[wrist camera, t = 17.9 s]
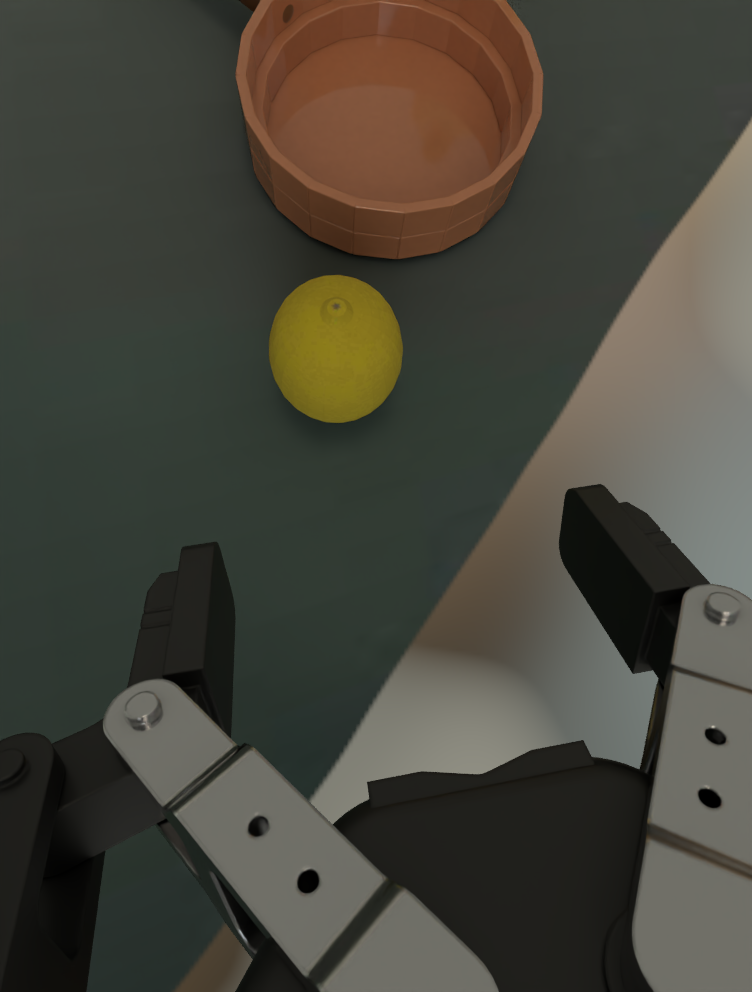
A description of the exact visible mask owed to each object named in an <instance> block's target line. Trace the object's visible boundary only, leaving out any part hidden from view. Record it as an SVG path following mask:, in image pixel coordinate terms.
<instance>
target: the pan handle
mask: <svg viewBox="0 0 752 992" xmlns="http://www.w3.org/2000/svg"><path fill="white" fill-rule="evenodd" d="M239 1H240V2H241V3H243V4H244V5H245V6H246V7H248V8H249V9H250V10H251V11H253V12H254V11H255V10H256V8H257V6H258V4H259V3H260V1H261V0H239ZM293 12H294V8H293V5H291V4H290V5H288V6H287V7H286V8H285V10H284V12H283V22H284V23H287V22H289V21H290V19H291V18H292V16H293Z"/></svg>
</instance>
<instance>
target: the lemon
mask: <svg viewBox="0 0 752 992" xmlns="http://www.w3.org/2000/svg"><path fill="white" fill-rule="evenodd" d="M402 353H403V345H402V340H401V334H400V328H399V324H398V322H397V320H396V317H395V315H394V313H393V311H392V309H391V307H390V305H389V304H388V303H387V302H386V300H385V299H384V298H383V297H382V295H381V294H380V293H379V292H378V291H376V290H375V289H374V288H372V287H371V286H370V285H368V284H367V283H365V282H362V281H360V280H358V279H356V278H352V277H347V276H342V275H329V276H322V277H318V278H315V279H311V280H309V281H307V282H306V283H304V284H302V285H300V286H298V287H297V288H296V289H295V290H294V291H293V292H292V293H291V294H290V295H289V296H288V297H287V298H286V299H285V300H284V302H283V304H282V305H281V307H280V309H279V310H278V312H277V314H276V316H275V319H274V322H273V326H272V329H271V332H270V337H269V360H270V364H271V368H272V372H273V376H274V379H275V381H276V383H277V384H278V386H279V388H280V390H281V391H282V393H283V395H284V396H285V398H286V399H287V400H288V401H289V402H290V403H291V404H292V405H293V406H294V407H295V408H296V409H298V410H299V411H301V412H303V413H304V414H306V415H308V416H309V417H311V418H314V419H317V420H320V421H324V422H332V423H343V422H348V421H354V420H357V419H359V418H361V417H363V416H365V415H368V414H370V413H371V412H372V411H373V410H375V409H376V408H377V407H378V406H380V405H381V404H382V403H383V402H384V400H385V399H386V398H387V396H388V395H389V394H390V392H391V391H392V389H393V388H394V385H395V383H396V380H397V378H398V375H399V373H400V370H401V362H402Z"/></svg>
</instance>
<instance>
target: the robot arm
mask: <svg viewBox="0 0 752 992" xmlns="http://www.w3.org/2000/svg"><path fill="white" fill-rule="evenodd" d="M559 550H560V555H561V559H562V562H563V564H564V566H565V568H566V569H567V571H568V573H569V574H570V575H571V577H572V579H573V580H574V582H575V584H576V585H577V587H578V588H579V590H580V591H581V593H582V594H583V596H584V598H585V599H586V601H587V602H588V604H589V606H590V607H591V609H592V610H593V612H594V613H595V615H596V616H597V618H598V620H599V621H600V623H601V624H602V626H603V628H604V629H605V631H606V632H607V634H608V635H609V637H610V639H611V640H612V642H613V643H614V645H615V646H616V648H617V650H618V651H619V653H620V654H621V656H622V657H623V659H624V660H625V662H626V664H627V665H628V667H629V668H630V670H631V672H632V673H633V674H635V673H641V672H646V671H651V670H653V671H654V672H655V674H656V675H657V677H658V678H659V679H658V682H657V685H656V689H655V694H654V699H653V705H652V710H651V715H650V720H649V725H648V731H647V736H646V741H645V746H644V751H643V757H642V761H641V765H640V769H637V768H634V767H632V766H629V765H627V764H624V763H620V762H617V761H613V760H608V759H603V758H595V757H591V755H590V753H589V751H588V749H587V747H586V745H585V743H584V741H583V740H581V741H576V742H571V743H566V744H561V745H556V746H550V747H545V748H540V749H535V750H531V751H529V752H527V753H525V754H523V755H521V756H519V757H517V758H515V759H513V760H511V761H509V762H507V763H505V764H503V765H500V766H498V767H496V768H494V769H492V770H490V771H488V772H486V773H483V774H457V773H440V772H416V773H411V774H406V775H401V776H396V777H391V778H385V779H380V780H375V781H370V782H367V784H368V792H369V800H367V801H365V802H363V803H361V804H359V805H357V806H356V807H354V808H353V809H351V810H350V811H348V812H347V813H345V814H344V815H343V816H342V817H341V818H339V819H338V820H337V821H336V822H335V823H334V824H333V825H332V824H331V823H330V822H329V821H328V820H327V819H326V818H325V817H324V816H323V815H322V814H321V813H320V812H319V811H318V810H317V809H316V808H315V807H314V806H313V805H312V804H311V803H310V802H309V801H308V800H307V799H306V798H305V797H304V796H303V795H302V794H301V793H300V792H299V791H298V790H297V789H296V788H295V787H294V786H293V785H292V784H291V783H290V782H289V781H288V780H287V779H286V778H284V777H283V776H282V775H281V774H280V773H279V772H278V771H277V770H276V769H275V768H274V767H273V766H272V765H271V764H270V763H269V762H268V761H267V760H266V759H265V758H264V757H263V756H262V755H261V754H260V753H259V752H258V751H257V750H256V749H255V748H253V747H252V746H251V745H249V744H247V743H244V744H243V745H242V746H238V745H237V744H236V743H234V742H233V741H232V740H231V726H232V699H233V671H234V644H235V607H234V600H233V594H232V590H231V587H230V583H229V579H228V576H227V572H226V569H225V565H224V561H223V558H222V554H221V550H220V547H219V545H218V543H217V542H211V543H204V544H198V545H191V546H185V547H182V549H181V555H180V561H179V567H178V571H174V572H167V573H161V574H160V575H159V577H158V578H157V579H156V581H155V582H154V583H153V585H152V586H151V587H150V589H149V590H148V592H147V596H146V601H145V606H144V614H143V615H142V620H141V625H140V626H141V629H140V630H139V635H138V639H137V644H136V649H135V654H134V658H133V663H132V668H131V673H130V677H129V682H128V686H127V689H125V690H124V691H123V692H121V693H120V694H119V695H118V696H117V697H116V698H115V699H114V700H113V701H112V702H111V704H110V705H109V707H108V708H107V710H106V713H105V715H104V718H103V719H102V720H100V721H99V722H97V723H96V724H94V725H92V726H90V727H88V728H86V729H84V730H82V731H79V732H77V733H75V734H73V735H71V736H68V737H66V738H64V739H62V740H59V741H57V742H55V743H53V744H51V742H50V741H49V739H47V738H46V737H45V736H43V735H41V734H37V733H22V734H17V735H13V736H10V737H8V738H6V739H3V740H1V741H0V992H86V990H87V982H88V975H89V967H90V960H91V953H92V945H93V938H94V930H95V923H96V915H97V908H98V901H99V893H100V886H101V878H102V871H103V863H104V856H105V850H107V849H109V848H111V847H113V846H115V845H117V844H119V843H120V842H122V841H124V840H126V839H128V838H130V837H132V836H134V835H136V834H138V833H140V832H141V831H143V830H145V829H147V828H149V827H151V826H153V825H155V826H156V828H157V829H158V830H159V832H160V833H161V834H162V835H163V837H164V838H165V839H166V841H167V842H168V843H169V845H170V846H171V847H172V849H173V850H174V851H175V853H176V854H177V855H178V856H179V858H180V859H181V860H182V862H183V863H184V864H185V866H186V867H187V868H188V870H189V871H190V872H191V874H192V875H193V876H194V877H195V879H196V880H197V881H198V883H199V884H200V885H201V887H202V888H203V889H204V891H205V892H206V894H207V895H208V897H209V898H210V900H211V901H212V903H213V904H214V906H215V907H216V909H217V911H218V912H219V914H220V915H221V917H222V918H223V920H224V921H225V923H226V924H227V925H228V927H229V928H230V930H231V931H232V932H233V934H234V935H235V936H236V938H237V939H238V940H239V942H240V943H241V944H242V946H243V947H244V948H245V950H246V951H247V952H248V954H249V955H250V956H251V958H252V959H253V961H252V962H251V964H250V966H249V968H248V970H247V971H246V973H245V975H244V977H243V979H242V981H241V982H240V984H239V986H238V988H237V990H236V991H235V992H752V600H751V599H750V598H749V597H747V596H746V595H744V594H742V593H741V592H739V591H737V590H734V589H732V588H728V587H725V586H721V585H714V584H710V583H709V582H708V581H707V579H706V578H705V577H704V576H703V575H702V574H701V573H700V572H699V570H698V569H697V568H696V567H695V566H694V565H693V564H692V563H691V562H690V560H689V559H688V558H687V557H686V556H685V555H684V554H683V553H682V552H681V551H680V549H679V548H678V547H677V546H676V545H675V544H674V543H671V539H670V538H669V537H668V536H667V535H666V534H665V533H664V532H663V531H661V530H660V527H659V526H658V525H657V524H656V523H655V522H654V521H653V520H652V519H651V517H649V515H648V514H647V513H645V512H644V511H642V510H640V509H638V508H637V507H635V506H633V505H631V504H630V503H628V502H623V503H618V501H617V500H616V499H615V498H614V496H613V495H612V494H611V493H610V492H609V491H608V489H607V488H606V487H605V486H603V485H601V484H598V485H591V486H585V487H578V488H572V489H568V490H567V492H566V494H565V499H564V507H563V515H562V523H561V531H560V537H559Z"/></svg>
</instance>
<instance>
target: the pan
mask: <svg viewBox="0 0 752 992" xmlns="http://www.w3.org/2000/svg"><path fill="white" fill-rule="evenodd" d="M290 4H291V5H293V8H294V12H293V16H292V18H291V19H290V21H289V22H287V23H284V22H283V12H284V10H285V8H286V7H287V6H288V5H290ZM235 75H236V82H237V88H238V93H239V99H240V104H241V109H242V115H243V120H244V126H245V131H246V137H247V141H248V146H249V150H250V154H251V159H252V163H253V168H254V172H255V175H256V177H257V178H258V180H259V181H260V183H261V185H262V186H263V188H264V189H265V191H266V192H267V194H268V196H269V197H270V199H271V200H272V202H273V204H274V205H275V207H276V208H277V209H278V210H279V211H280V212H281V213H282V214H283V215H285V216H286V217H287V218H288V219H289V220H291V221H292V222H293V223H294V224H295V225H297V226H298V227H299V228H300V229H301V230H303V231H304V232H305V233H306V234H307V235H309V236H310V237H312V238H314V239H317V240H319V241H321V242H324V243H326V244H329V245H331V246H333V247H336V248H338V249H340V250H343V251H345V252H347V253H350V254H352V253H353V254H354V255H361V256H370V257H379V258H387V259H403V258H409V257H415V256H420V255H426V254H432V253H437V252H440V251H443V250H445V249H447V248H449V247H450V246H452V245H454V244H456V243H458V242H460V241H462V240H464V239H466V238H468V237H470V236H472V235H473V234H475V233H476V232H478V231H479V230H480V229H481V228H482V227H483V226H484V225H485V224H486V223H487V222H488V221H489V219H490V218H491V217H492V216H493V215H494V214H495V213H496V212H497V211H498V210H499V209H500V208H501V207H502V206H503V204H504V203H505V201H506V199H507V196H508V194H509V192H510V189H511V187H512V185H513V182H514V180H515V178H516V175H517V173H518V171H519V168H520V166H521V164H522V161H523V159H524V156H525V154H526V152H527V149H528V147H529V144H530V142H531V140H532V137H533V135H534V132H535V130H536V128H537V125H538V123H539V120H540V118H541V115H542V94H543V71H542V68H541V65H540V62H539V59H538V56H537V53H536V50H535V47H534V44H533V40H532V37H531V35H530V33H529V31H528V30H527V29H526V27H525V26H524V24H523V23H522V22H521V20H520V19H519V18H518V16H517V15H516V13H515V12H514V11H513V9H512V8H511V7H510V5H509V4H508V2H507V1H506V0H261V1H260V3H259V4H258V6H257V8H256V10H255V11H254V13H253V15H252V17H251V18H250V20H249V22H248V24H247V25H246V27H245V29H244V31H243V32H242V35H241V41H240V48H239V54H238V61H237V68H236V74H235Z"/></svg>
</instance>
